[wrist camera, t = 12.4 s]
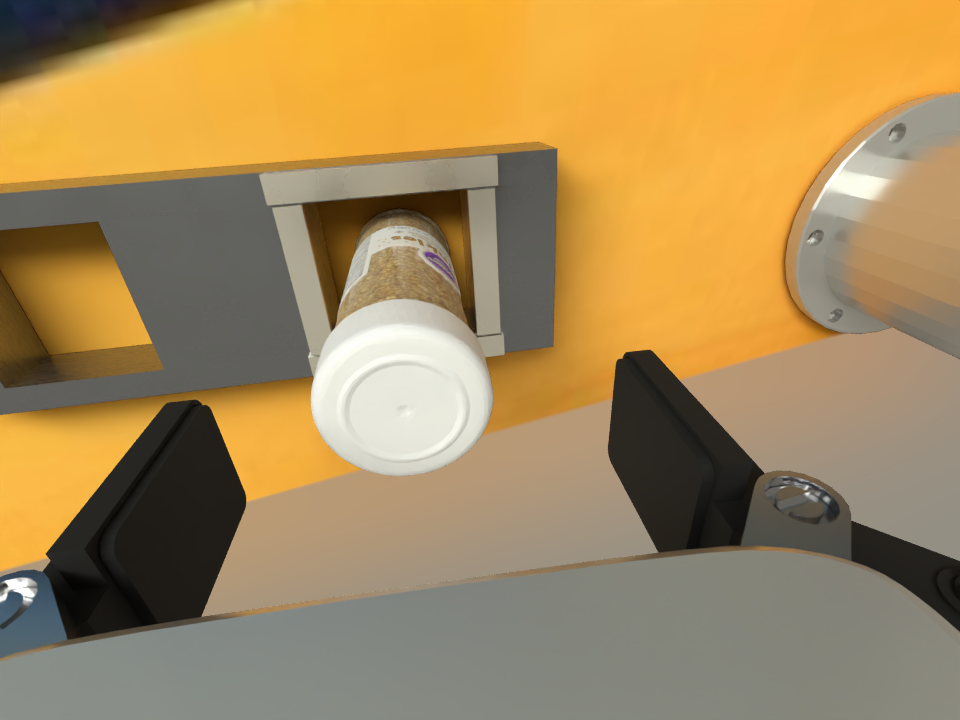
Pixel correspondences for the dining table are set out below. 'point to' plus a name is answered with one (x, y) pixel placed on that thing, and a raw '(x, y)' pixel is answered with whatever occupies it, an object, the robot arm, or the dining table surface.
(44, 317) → the dining table surface
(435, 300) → the sprinkles bottle
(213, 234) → the rail
